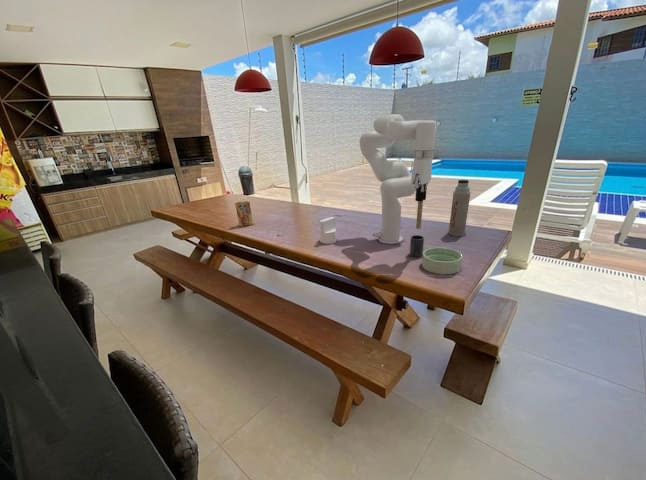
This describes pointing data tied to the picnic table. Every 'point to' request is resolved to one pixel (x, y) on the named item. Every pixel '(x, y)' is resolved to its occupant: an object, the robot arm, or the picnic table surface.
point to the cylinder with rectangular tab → (327, 231)
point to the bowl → (442, 260)
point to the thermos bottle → (459, 208)
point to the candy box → (244, 213)
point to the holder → (416, 246)
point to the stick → (419, 213)
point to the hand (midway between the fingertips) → (420, 200)
